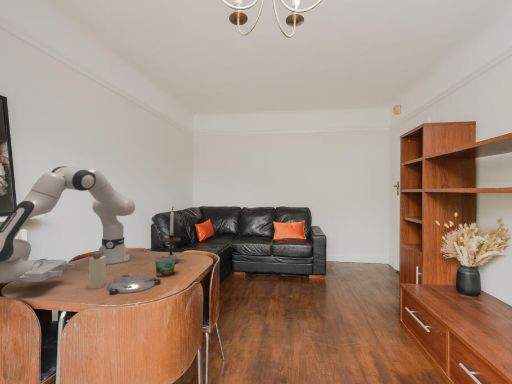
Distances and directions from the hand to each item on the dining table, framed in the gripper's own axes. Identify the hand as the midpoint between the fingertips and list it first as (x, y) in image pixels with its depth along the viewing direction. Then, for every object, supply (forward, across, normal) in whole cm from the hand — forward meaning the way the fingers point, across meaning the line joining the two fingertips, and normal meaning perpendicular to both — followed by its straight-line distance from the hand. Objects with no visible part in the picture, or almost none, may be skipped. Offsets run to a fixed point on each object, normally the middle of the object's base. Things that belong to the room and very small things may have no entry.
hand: (68, 269), depth 113 cm
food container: (+41, +12, +8) cm, 43 cm away
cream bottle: (+12, 0, +8) cm, 14 cm away
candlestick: (+40, +37, +8) cm, 55 cm away
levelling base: (+28, -1, +8) cm, 29 cm away
